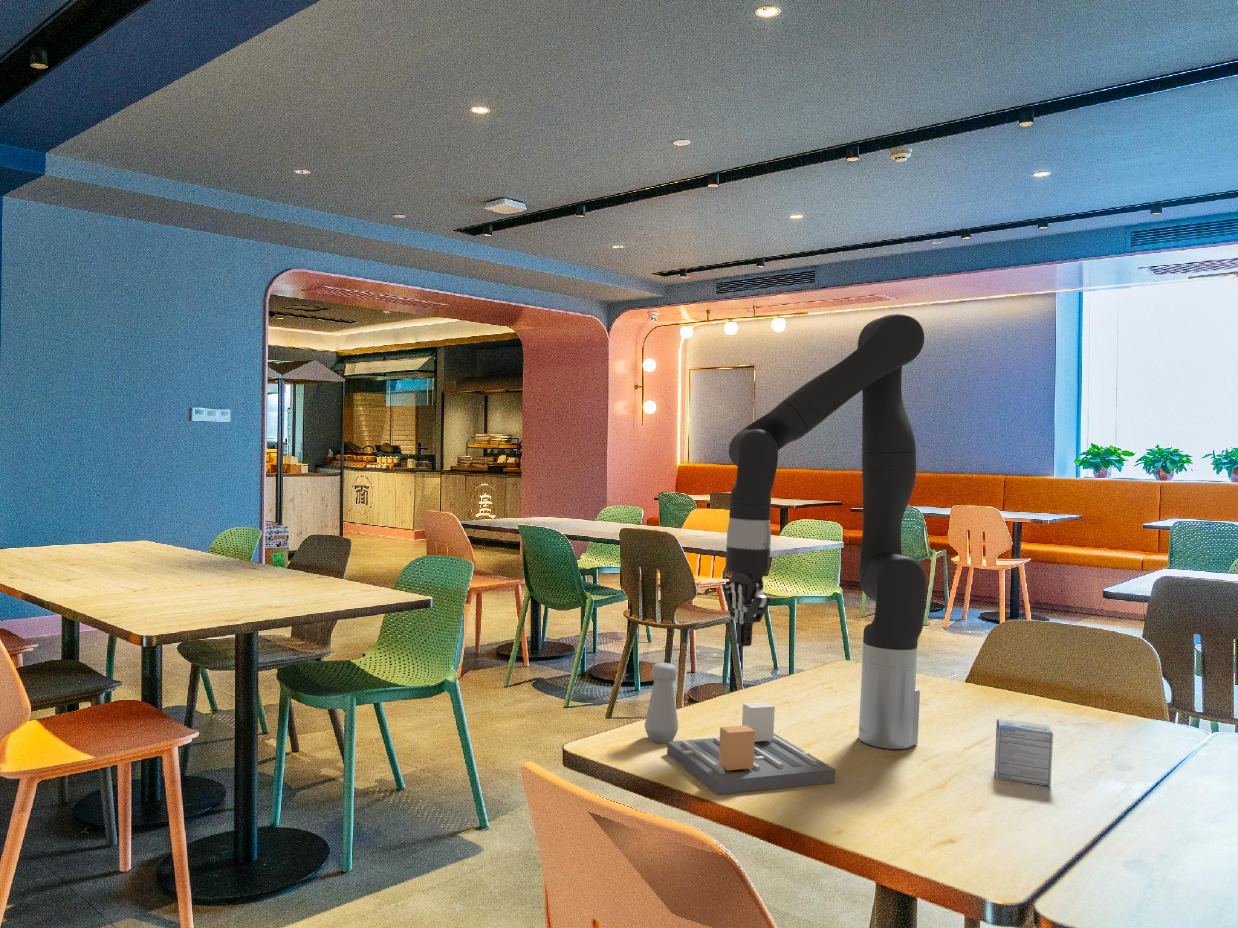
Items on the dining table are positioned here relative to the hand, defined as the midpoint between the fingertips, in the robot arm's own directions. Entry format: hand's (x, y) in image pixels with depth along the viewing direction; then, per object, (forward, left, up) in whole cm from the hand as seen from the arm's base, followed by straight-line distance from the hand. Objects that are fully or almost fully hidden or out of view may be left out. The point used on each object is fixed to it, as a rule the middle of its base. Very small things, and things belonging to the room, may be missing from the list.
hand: (743, 644), depth 152 cm
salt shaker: (+13, -4, -17) cm, 22 cm away
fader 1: (+10, +17, -14) cm, 24 cm away
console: (+5, +12, -17) cm, 21 cm away
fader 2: (0, +6, -14) cm, 16 cm away
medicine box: (-36, +27, -17) cm, 48 cm away
